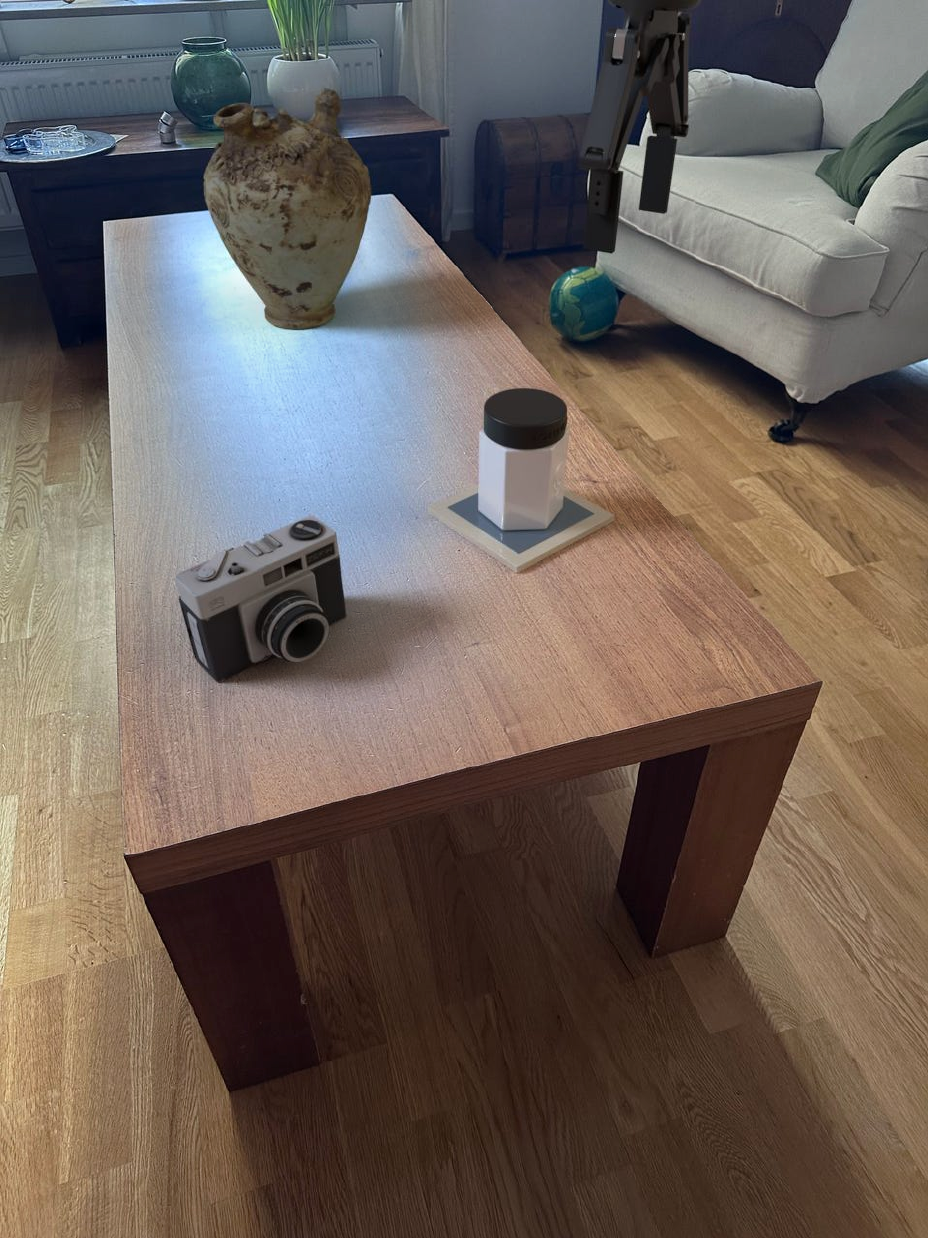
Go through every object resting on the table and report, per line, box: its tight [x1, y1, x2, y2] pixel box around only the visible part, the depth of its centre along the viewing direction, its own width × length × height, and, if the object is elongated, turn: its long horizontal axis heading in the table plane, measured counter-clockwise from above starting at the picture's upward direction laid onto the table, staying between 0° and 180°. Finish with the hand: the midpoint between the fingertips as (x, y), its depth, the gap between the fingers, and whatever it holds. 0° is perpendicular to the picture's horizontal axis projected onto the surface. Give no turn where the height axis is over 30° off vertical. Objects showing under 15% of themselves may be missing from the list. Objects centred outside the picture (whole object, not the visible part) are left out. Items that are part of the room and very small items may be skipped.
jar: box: [477, 387, 570, 531], centre depth 89 cm, size 9×8×12 cm
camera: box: [174, 515, 347, 683], centre depth 75 cm, size 14×9×10 cm, turn 124°
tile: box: [427, 483, 615, 574], centre depth 94 cm, size 14×14×1 cm
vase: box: [202, 87, 372, 330], centre depth 126 cm, size 23×23×30 cm
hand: (627, 229), depth 83 cm, fingers open, 13 cm apart
